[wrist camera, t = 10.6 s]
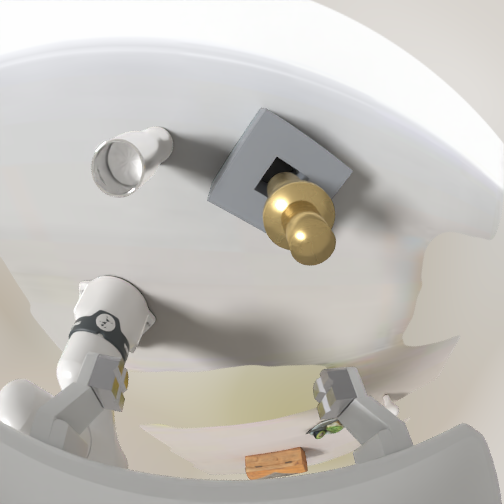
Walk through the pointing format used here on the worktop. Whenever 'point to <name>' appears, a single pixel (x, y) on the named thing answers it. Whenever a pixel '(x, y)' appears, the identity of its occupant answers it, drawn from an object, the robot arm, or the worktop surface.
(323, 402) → the robot arm
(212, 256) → the worktop surface
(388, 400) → the lightbulb
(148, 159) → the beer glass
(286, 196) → the brass knob plunger
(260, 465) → the wooden box
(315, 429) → the salad plate
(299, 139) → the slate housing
